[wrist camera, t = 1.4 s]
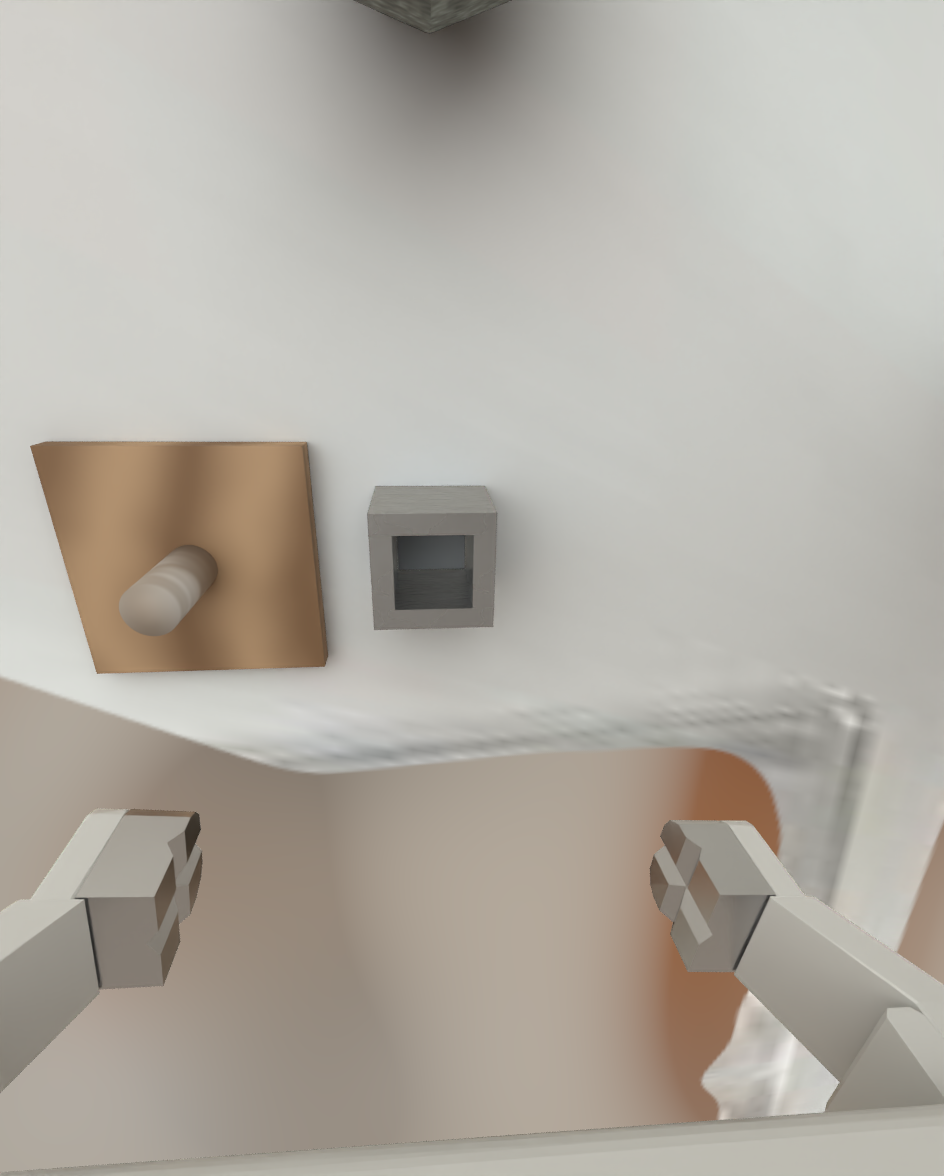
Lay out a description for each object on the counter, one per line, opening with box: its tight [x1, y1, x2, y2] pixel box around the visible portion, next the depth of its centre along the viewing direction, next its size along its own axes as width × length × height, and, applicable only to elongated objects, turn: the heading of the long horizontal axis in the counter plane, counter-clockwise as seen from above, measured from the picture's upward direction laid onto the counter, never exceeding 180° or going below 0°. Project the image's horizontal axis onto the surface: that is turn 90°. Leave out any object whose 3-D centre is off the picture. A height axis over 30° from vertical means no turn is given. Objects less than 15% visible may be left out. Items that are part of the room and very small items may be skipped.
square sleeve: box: [367, 486, 497, 630], centre depth 28 cm, size 6×6×5 cm
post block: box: [30, 442, 328, 674], centre depth 27 cm, size 12×12×6 cm
